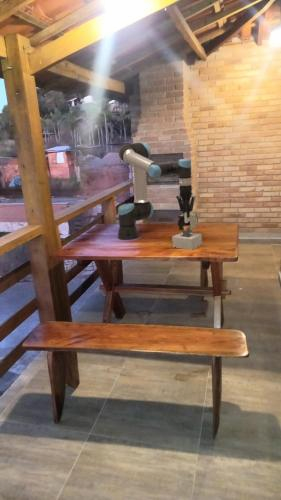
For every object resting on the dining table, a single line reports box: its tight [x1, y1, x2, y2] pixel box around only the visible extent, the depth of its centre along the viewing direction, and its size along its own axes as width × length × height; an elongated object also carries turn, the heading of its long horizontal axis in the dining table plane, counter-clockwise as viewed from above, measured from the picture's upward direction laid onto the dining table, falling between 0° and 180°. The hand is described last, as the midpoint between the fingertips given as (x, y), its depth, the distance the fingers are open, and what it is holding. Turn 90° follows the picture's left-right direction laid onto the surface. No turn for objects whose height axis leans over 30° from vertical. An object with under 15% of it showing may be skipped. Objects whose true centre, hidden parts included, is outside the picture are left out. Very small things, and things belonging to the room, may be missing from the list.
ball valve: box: [177, 211, 199, 233], centre depth 263 cm, size 18×8×18 cm, turn 148°
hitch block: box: [171, 231, 203, 251], centre depth 245 cm, size 14×13×7 cm
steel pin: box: [182, 225, 190, 237], centre depth 244 cm, size 4×4×12 cm
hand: (186, 222), depth 241 cm, fingers closed
